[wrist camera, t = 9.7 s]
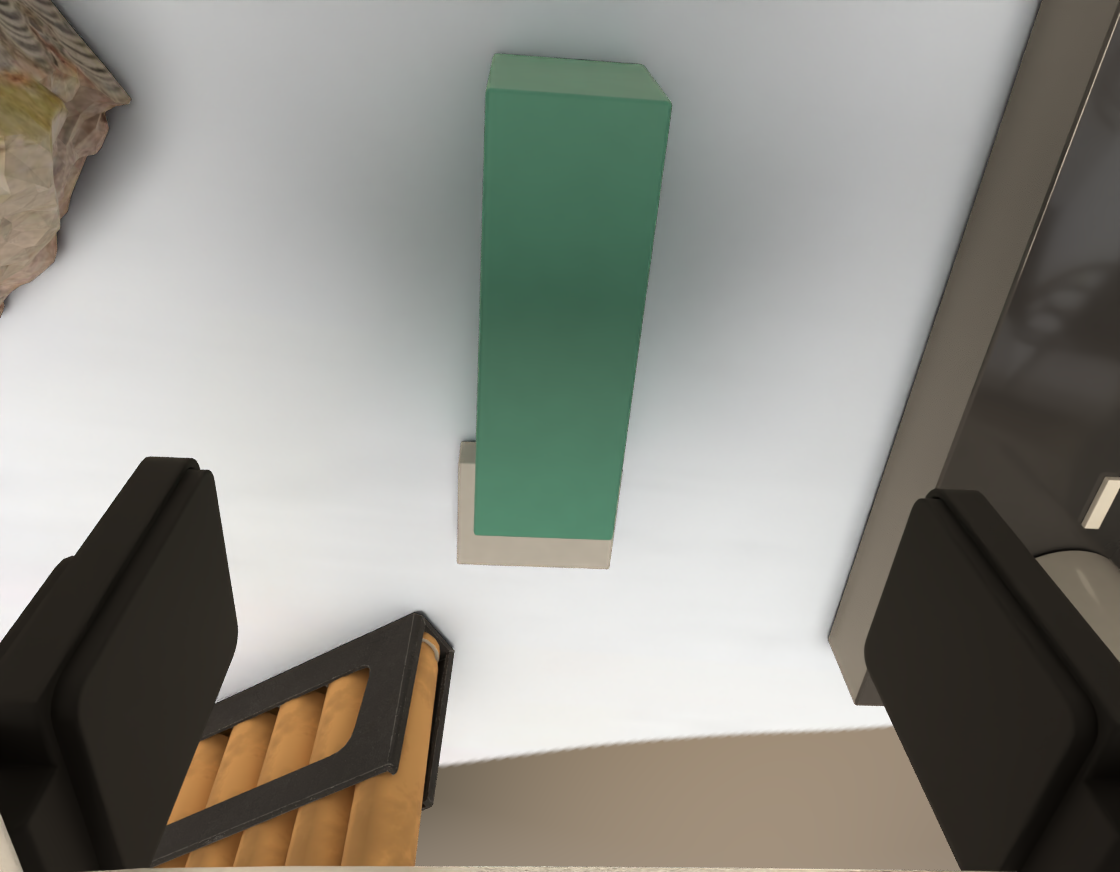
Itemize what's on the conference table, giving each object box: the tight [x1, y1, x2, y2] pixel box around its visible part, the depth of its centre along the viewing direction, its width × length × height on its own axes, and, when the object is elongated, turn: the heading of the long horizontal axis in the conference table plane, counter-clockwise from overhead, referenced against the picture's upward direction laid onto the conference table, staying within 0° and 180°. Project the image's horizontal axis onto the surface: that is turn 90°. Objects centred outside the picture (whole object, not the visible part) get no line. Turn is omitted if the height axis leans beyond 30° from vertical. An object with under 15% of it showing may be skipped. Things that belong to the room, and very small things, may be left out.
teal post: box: [457, 53, 672, 569], centre depth 18 cm, size 4×12×4 cm, turn 176°
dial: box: [1035, 550, 1120, 662], centre depth 19 cm, size 4×4×5 cm
